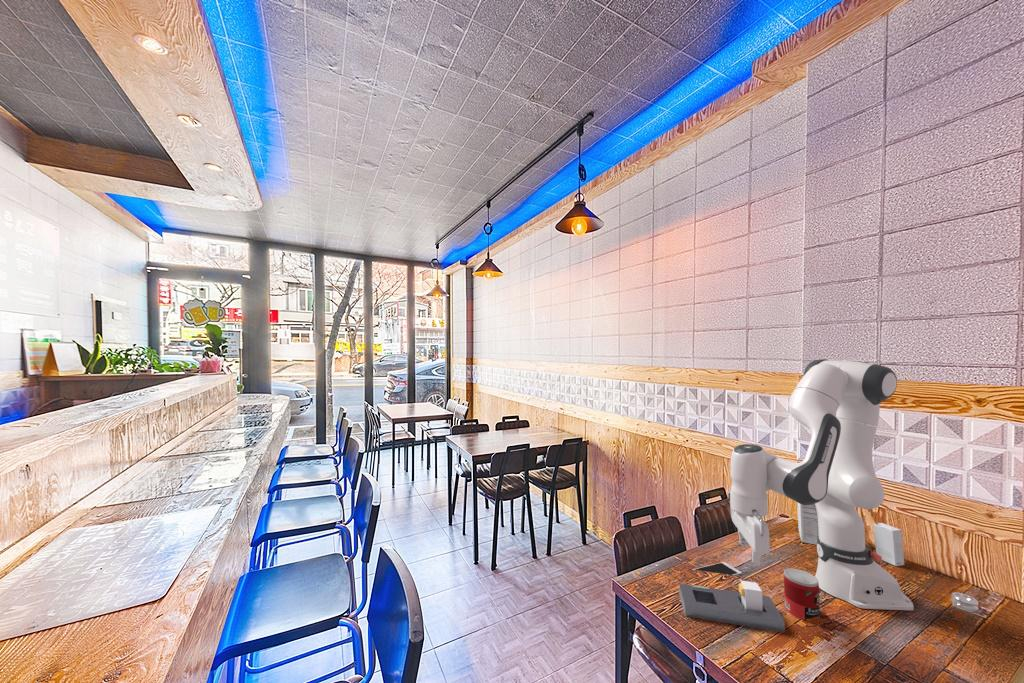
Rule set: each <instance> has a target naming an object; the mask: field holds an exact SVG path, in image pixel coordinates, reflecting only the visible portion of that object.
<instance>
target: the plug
mask: <svg viewBox="0 0 1024 683" xmlns="http://www.w3.org/2000/svg"><path fill="white" fill-rule="evenodd" d="M738 592H740V594H741V602H742V606H743V608H744V609H748V610H754V611H761V612H763V604H762V596H763V590H762V589H761V587H760V586H759V583H757V582H754V581H746V580H740V583H738Z"/></svg>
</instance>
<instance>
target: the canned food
mask: <svg viewBox="0 0 1024 683" xmlns="http://www.w3.org/2000/svg"><path fill="white" fill-rule="evenodd" d="M783 585H784V586H783V588H784V589H783V590H784V591H783V592H784V608H785V610H786V611H787V613H789V614H790V615H791V616H793V617H795V618H796V619H799V620H801V621H804V622H808V623H818V622H819V621H821V611H820V610H821V608H820V606H821V605H820V588H819V582H818V579H817V578H816V577H815V575H813V574H812V573H810V572H807V571H805V570H802V569H797V568H793V567H792V568H791V567H790V568H786V569H784V570H783Z"/></svg>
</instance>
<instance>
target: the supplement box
mask: <svg viewBox="0 0 1024 683" xmlns="http://www.w3.org/2000/svg"><path fill="white" fill-rule="evenodd" d="M796 503H797V524H798V533H799V538H800V541H801V543H805V544H811V545H815V546H817V537H818V536H819V532H818V516H817V510H816V506H815V504H813V505H802V504H800V503H798V502H796Z"/></svg>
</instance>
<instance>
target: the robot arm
mask: <svg viewBox="0 0 1024 683" xmlns="http://www.w3.org/2000/svg"><path fill="white" fill-rule="evenodd" d="M897 378H898V377H897V375H896V373H895V372H894V371H893V370H892V368H889V367H887V366H884V365H881V364H878V363H877V364H875V363H874V364H872V363H865V362H862V361H853V360H838V359H837V360H836V359H834V360H832V359H831V360H829V359H824V358H823V359H821V358H820V359H815V360H812V361H811V362H809V363H808V364H807V365H806V367H805V368H804V371H803V376H802V378H800V380H799V382H798V383H797V384H796V386H795V388H794V390H793V391H792V393H791V394H790V397H789V399H788V403H787V407H788V411H789V413H790V415H791V416H792V417H793V418H794V419H795V420H796V421H797V422H798V423H799V424H801V426H802V425H803V426H804V427H805V428H807V429H809V430H810V432H811V438H810V442H809V444H808V447H807V451H806V453H805V457H804V459H803V460H802V461H799V462H796V461H792V460H791V459H790V460H789V459H786V458H783V457H780V456H777V455H774V454H772V453H771V452H770V453H769V452H768V451H766V450H765V449H764V448H763V447H762V446H760V445H758V444H753V443H752V444H751V443H750V444H749V443H748V444H747V443H745V444H739V445H736V446H735V447H734V448H732V449H733V450H732V451H731V452H732V453H731V456H730V470H729V472H730V473H729V474H730V478H731V486H730V491H728V492H727V498H728V500H729V508H730V517H731V521H732V523H733V524H734V525H735V527H736V528H737V532H738V537H739V544H740V545H741V547H744V548H748V547H749V546H750V548H751V551H752V552H751V554H750V561H751V562H752V564H754V565H760V564H761V557H762V555H769V554H770V553H771V541H770V540H771V539H770V538H771V537H770V530H769V526H768V524H767V523H766V521H765V520H764V518H763V517H765V516H767V515H768V513H769V510H768V509H769V507H768V504H769V503H768V491H773V492H775V493H777V494H780V495H783V497H784V496H785V497H787V498H788V499H790V500H792V501H794V502H796V503H797V502H798V503H800V504H802V505H813V504H815V506H816V510H817V516H818V532H819V536H818V537H817V545H816V551H817V552H816V553H817V556H818V558H817V567H816V573H815V575H814V576H815V577H816V578H817V579H818V582H819V590H822V591H823V592H825V593H827V594H829V595H831V596H833V597H835V598H837V599H840V600H842V601H844V602H847V603H849V604H851V605H853V606H855V607H857V608H860V609H864V610H865V609H867V610H868V609H869V610H891V611H893V610H894V611H914V610H915V607H914V603H913V601H912V600H911V599H910V598H909V597H908V596H907V595H906V594H904V593H903V592H902V588H901V586H900V584H899V582H898V581H897V579H896V578H895V577H894V576H893V575H892V574H891V573H889V571H887V570H886V568H885V569H884V568H883V567H882V566H881V565H880V564H878V563H879V562H881V561H883V560H882V558H881V556H880V555H879V554H877V553H876V551H873V550H872V549H870V548H869V547H868V546H866V535H865V534H866V533H865V531H866V530H865V529H866V528H865V523H864V520H863V518H862V516H860V514H859V513H858V511H857V509H856V508H859V509H862V510H873V509H876V508H878V507H879V506H881V505H882V503H883V502H884V500H885V489H884V486H883V484H881V482H880V480H878V477H877V474H876V471H875V468H874V466H875V465H874V462H873V448H874V444H875V443H874V442H875V439H876V435H877V428H878V424H879V422H880V421H879V420H880V411H881V410H880V409H881V408H880V405H881V403H882V402H885V401H887V400H889V398H891V397H892V396H893V395H894V394H895V392H896V389H897V386H898V379H897ZM877 562H878V563H877Z"/></svg>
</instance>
